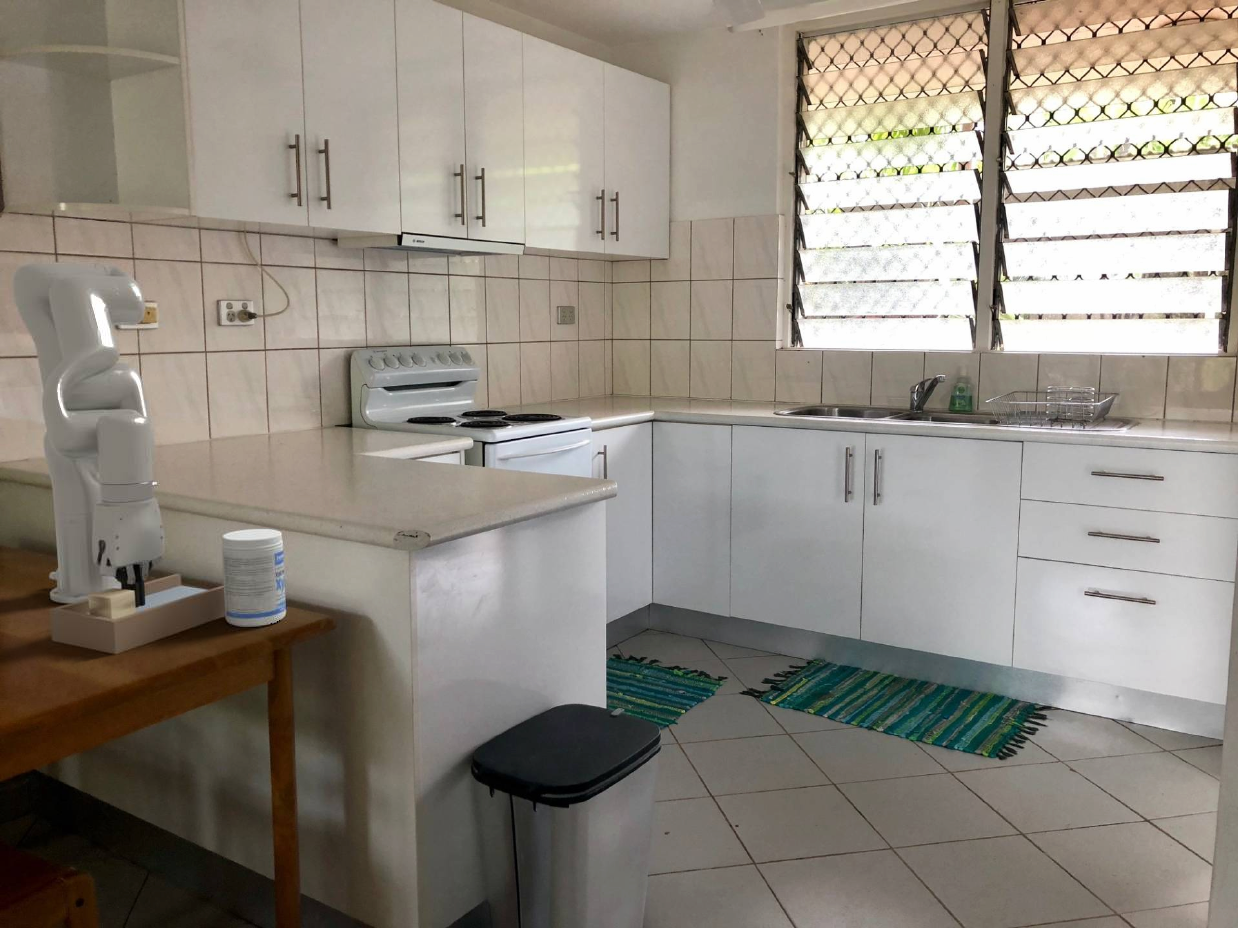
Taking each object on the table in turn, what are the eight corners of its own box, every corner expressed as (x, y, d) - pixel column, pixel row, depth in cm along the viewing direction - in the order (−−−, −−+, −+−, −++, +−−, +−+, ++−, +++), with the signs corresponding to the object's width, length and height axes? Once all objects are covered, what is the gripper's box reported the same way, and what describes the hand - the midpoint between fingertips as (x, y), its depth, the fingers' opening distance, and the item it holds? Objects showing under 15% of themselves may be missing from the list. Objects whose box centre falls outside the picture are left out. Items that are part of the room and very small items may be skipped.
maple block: (90, 623, 149) (88, 595, 149) (114, 615, 153) (112, 587, 153) (112, 626, 148) (110, 598, 147) (136, 618, 152) (134, 590, 151)
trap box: (51, 640, 150) (49, 609, 149) (177, 601, 172) (176, 573, 171) (116, 654, 144) (114, 621, 144) (237, 611, 166) (236, 583, 166)
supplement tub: (292, 623, 161) (289, 536, 159) (232, 632, 155) (228, 542, 153) (277, 608, 169) (274, 525, 167) (219, 616, 163) (215, 531, 161)
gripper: (149, 484, 160) (155, 591, 163) (67, 498, 147) (75, 615, 149) (183, 487, 158) (188, 596, 160) (102, 502, 144) (110, 621, 146)
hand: (134, 605), depth 155 cm, fingers closed
